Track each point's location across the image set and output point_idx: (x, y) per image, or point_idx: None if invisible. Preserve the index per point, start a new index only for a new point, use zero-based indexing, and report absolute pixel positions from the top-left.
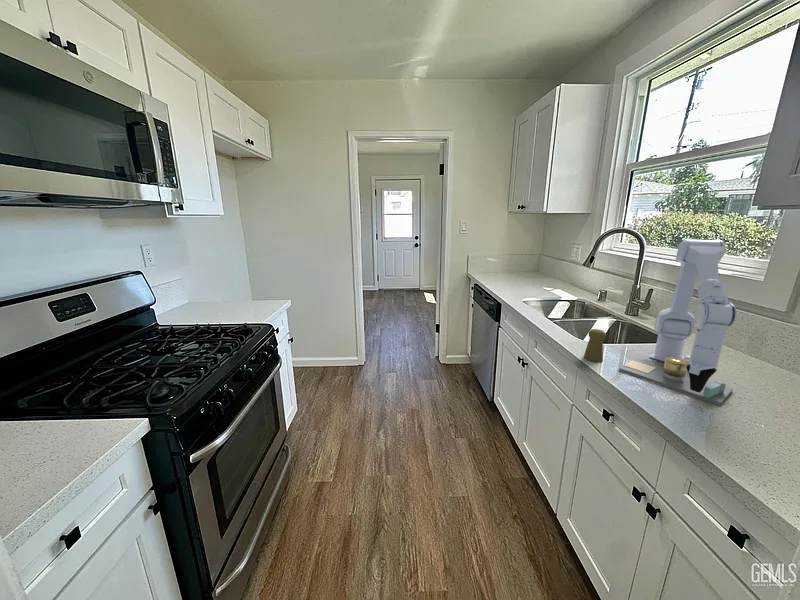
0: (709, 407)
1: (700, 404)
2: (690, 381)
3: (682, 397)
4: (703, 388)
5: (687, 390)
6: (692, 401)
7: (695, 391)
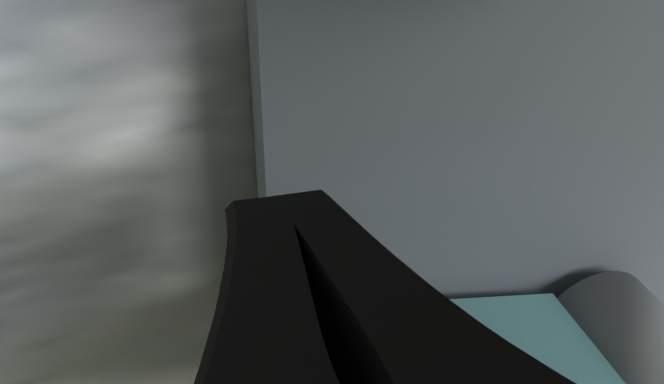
0: (92, 379)
1: (64, 311)
2: (214, 328)
3: (30, 97)
4: (590, 190)
5: (295, 104)
6: (46, 231)
7: (372, 183)
